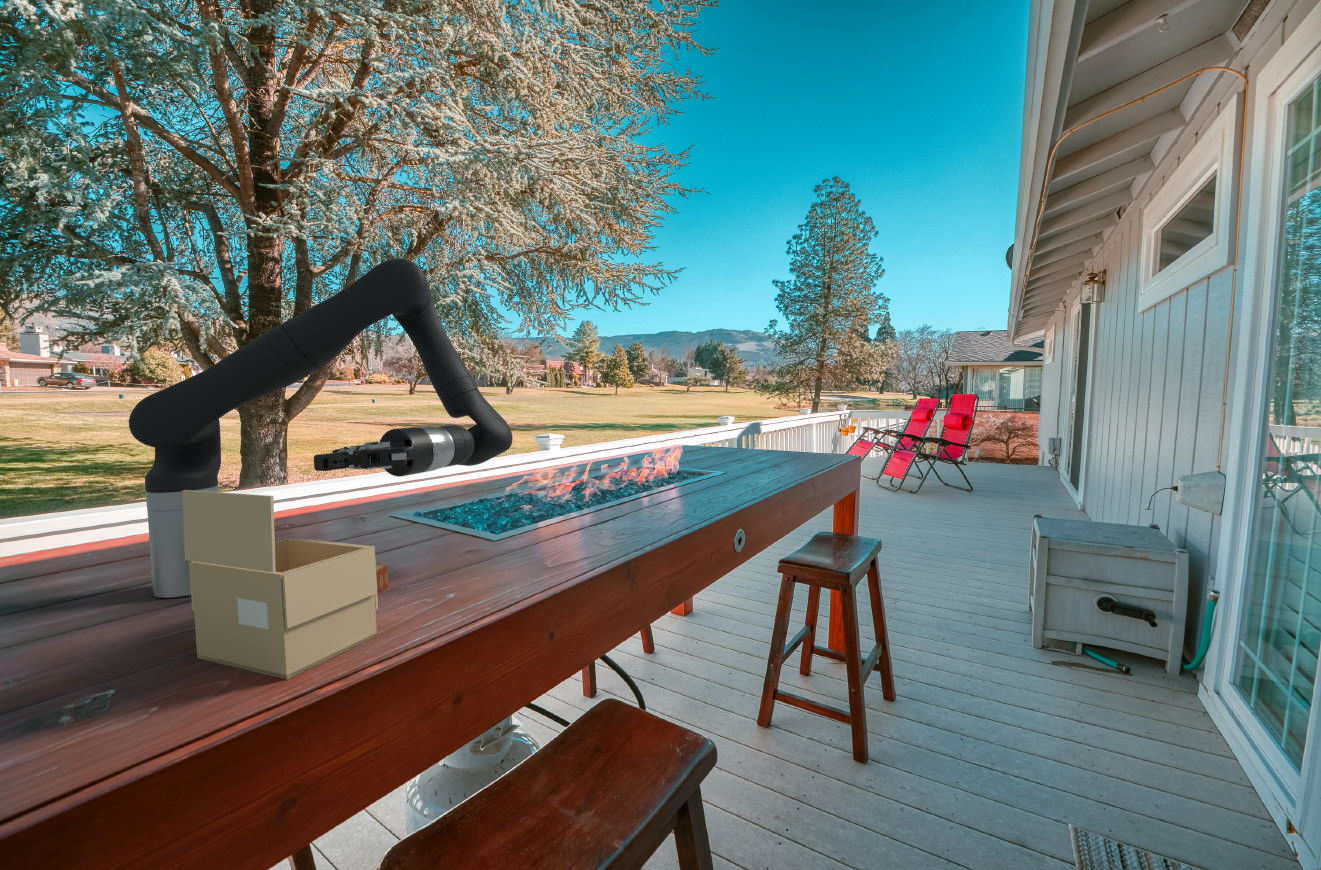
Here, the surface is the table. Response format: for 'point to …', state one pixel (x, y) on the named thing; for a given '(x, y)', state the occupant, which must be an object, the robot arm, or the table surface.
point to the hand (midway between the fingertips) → (318, 463)
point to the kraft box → (286, 607)
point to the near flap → (229, 529)
